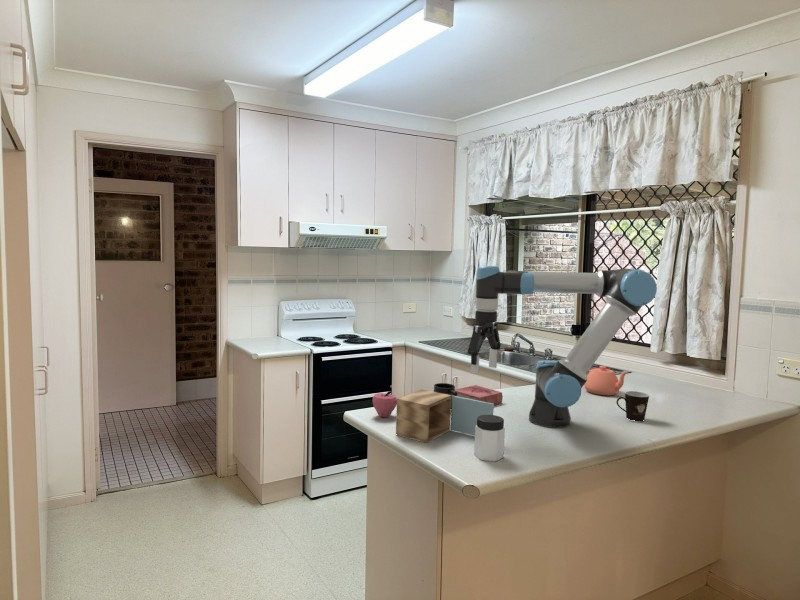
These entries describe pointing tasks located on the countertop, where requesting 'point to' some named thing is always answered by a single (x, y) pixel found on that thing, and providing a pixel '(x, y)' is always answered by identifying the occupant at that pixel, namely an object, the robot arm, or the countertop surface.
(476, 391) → the book
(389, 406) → the apple
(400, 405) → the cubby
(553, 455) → the countertop surface
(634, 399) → the coffee mug
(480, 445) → the jar
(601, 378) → the teapot
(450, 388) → the mug
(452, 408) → the door
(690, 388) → the countertop surface
